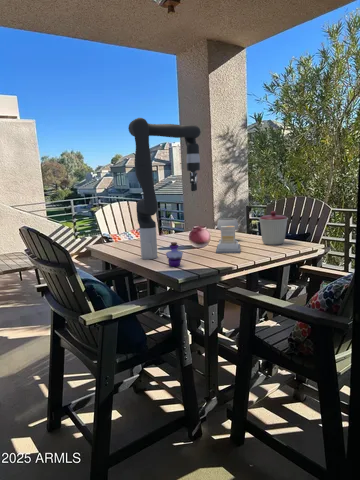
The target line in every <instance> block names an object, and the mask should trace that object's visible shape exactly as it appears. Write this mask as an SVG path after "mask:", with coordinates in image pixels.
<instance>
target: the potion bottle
mask: <svg viewBox="0 0 360 480" xmlns="http://www.w3.org/2000/svg"><path fill="white" fill-rule="evenodd" d="M169 249H170V250H169V251H167V252H165V256H166V259H168V260H167V262H168V264H169V267H170V268H178V267H180V266H181V262H182V258H183V253H184V252H183V251H181V250H178V249H179V245H178V242H176V241H175V242H170V245H169Z"/></svg>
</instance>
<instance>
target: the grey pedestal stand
mask: <svg viewBox="0 0 360 480" xmlns="http://www.w3.org/2000/svg"><path fill="white" fill-rule="evenodd" d="M215 254H241V243H239V241H238V240H237V241H235V244H221V241H219V240H218V244H217V246H216V249H215Z"/></svg>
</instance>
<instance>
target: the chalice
mask: <svg viewBox="0 0 360 480" xmlns="http://www.w3.org/2000/svg"><path fill="white" fill-rule="evenodd" d="M221 226H235V231H236V230H237V229H238V228H239V223H238V220H237V218H233V217H229V218H227V217H225V218H219V219H218V221H217V229H218V230H219V231H221ZM219 241H221V238H220V239H219V240H218V242H219ZM235 241H238V240H237V239H236V238H235Z"/></svg>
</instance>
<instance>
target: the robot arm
mask: <svg viewBox="0 0 360 480" xmlns="http://www.w3.org/2000/svg"><path fill="white" fill-rule="evenodd" d="M127 127H128V132H129V134H130V135H131V136H132V137H134V142H135V143H134V144H135V152H134V160H133V161H134V171H135V177H136V180H137V182H138V183H139V185H140V187H141V190H142V195H143V196H142V197H143V198H140V199H139V200H138V201H137V204H136V207H135V208H136V217H137V223H138V225H139V240H140V255H141V256H140V257H141V259H142V260H153V259H157V258H158V243H157V242H158V241H157V222H156V221H155V220H153V218H152V216H155V214H157V212H158V206H159V205H158V202H157V196H156V190H155V183H154V175H153V164H152V156H151V150H150V148H151V147H150V137H164V138H173V139H174V138H175V139H180V138H184V142H185V145H186V171H187V172H189V183H190V192H196V191H197V190H198V171H200V170H201V164H200V161H201V160H200V159H201V158H200V146H199V144H198V143H197V140H196V139H197V138H198V137H200V135H201V132H202V131H201V129H200V127H199V126H197V125H194V124H183V125H182V124H174V123H157V124H156V123H148V121H147V119H145V118H143V117H137V118H135V119H133V120H131V122H129V125H128V126H127Z"/></svg>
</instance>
